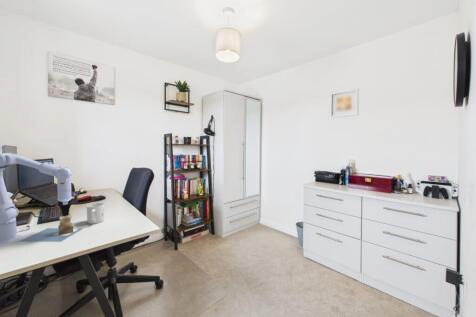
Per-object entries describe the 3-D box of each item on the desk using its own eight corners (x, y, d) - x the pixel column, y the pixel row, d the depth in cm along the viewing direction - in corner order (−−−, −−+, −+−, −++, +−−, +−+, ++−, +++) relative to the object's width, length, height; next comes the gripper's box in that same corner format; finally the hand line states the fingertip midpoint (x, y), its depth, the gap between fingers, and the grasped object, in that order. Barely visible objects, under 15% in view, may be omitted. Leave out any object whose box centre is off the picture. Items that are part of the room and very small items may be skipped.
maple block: (59, 228, 109) (59, 219, 109) (59, 225, 113) (59, 216, 112) (70, 226, 112) (70, 217, 112) (70, 223, 116) (70, 215, 115)
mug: (89, 220, 131) (88, 203, 130) (105, 218, 135) (105, 202, 134) (84, 227, 120) (83, 209, 119) (102, 225, 124) (101, 207, 123)
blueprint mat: (19, 242, 101) (19, 241, 101) (47, 228, 117) (47, 228, 117) (61, 242, 102) (61, 241, 102) (83, 229, 118) (83, 228, 118)
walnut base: (58, 235, 109) (58, 229, 108) (58, 231, 113) (58, 225, 113) (73, 232, 113) (73, 226, 112) (72, 228, 117) (72, 222, 117)
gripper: (74, 191, 108) (75, 216, 109) (73, 186, 119) (73, 209, 120) (57, 193, 104) (58, 219, 105) (56, 188, 115) (57, 212, 115)
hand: (65, 214), depth 112 cm, fingers open, 4 cm apart
